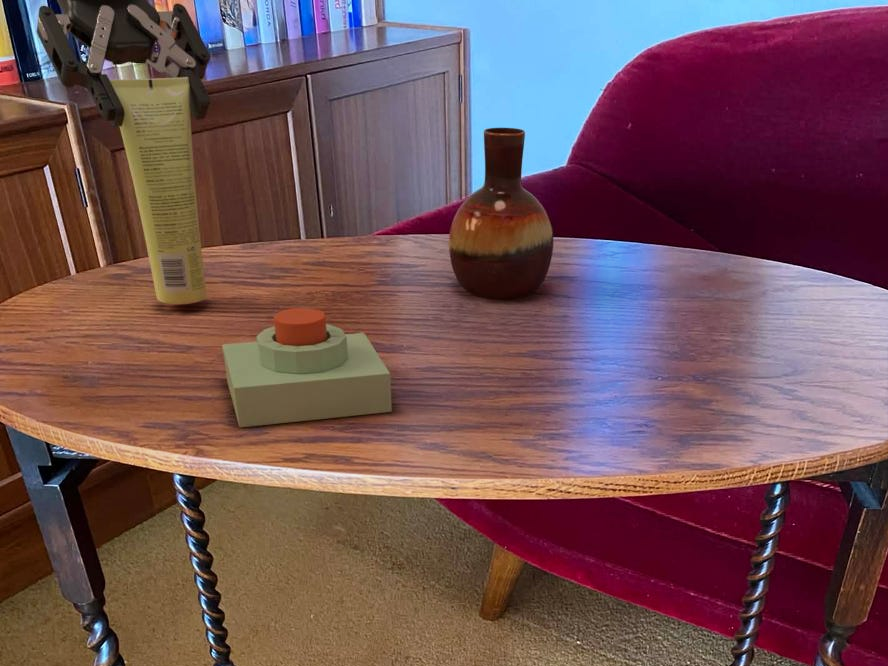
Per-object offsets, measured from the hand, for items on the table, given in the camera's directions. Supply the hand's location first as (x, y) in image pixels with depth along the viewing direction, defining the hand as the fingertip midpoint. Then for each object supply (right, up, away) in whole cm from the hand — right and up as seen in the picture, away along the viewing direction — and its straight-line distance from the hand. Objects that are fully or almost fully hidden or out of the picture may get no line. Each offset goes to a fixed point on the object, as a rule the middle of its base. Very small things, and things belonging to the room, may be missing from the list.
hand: (162, 116), depth 87 cm
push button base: (+15, -27, -8) cm, 32 cm away
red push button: (+15, -24, -11) cm, 30 cm away
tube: (-1, -13, +11) cm, 17 cm away
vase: (+31, -9, +18) cm, 37 cm away
